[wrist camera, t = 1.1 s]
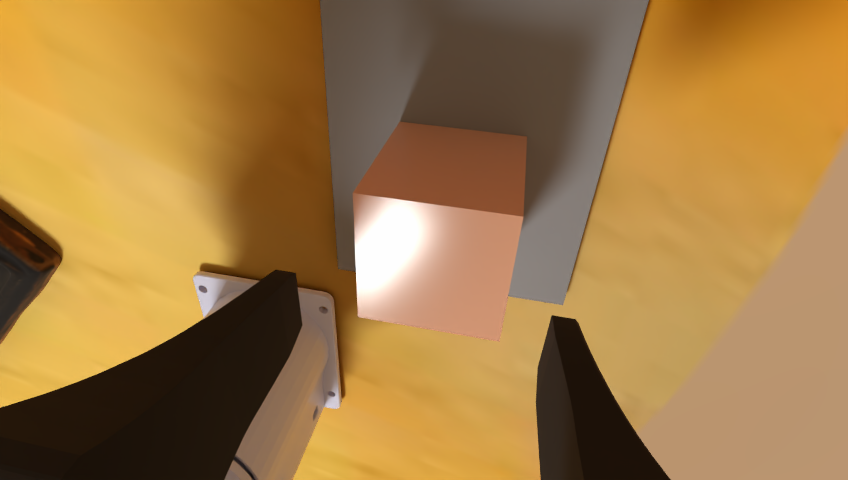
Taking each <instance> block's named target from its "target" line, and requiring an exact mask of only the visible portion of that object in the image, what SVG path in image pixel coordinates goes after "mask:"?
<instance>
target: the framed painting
mask: <svg viewBox="0 0 848 480" xmlns="http://www.w3.org/2000/svg"><path fill="white" fill-rule="evenodd" d="M60 262H61V258H60V256H59V255H58V253H57V252H56V251H54V250H53V249H52V248H51V247H50V246H49V245H47V244H46V243H45V242H43V241H42V240H41V239H40V238H38V237H37V236H36V235H34V234H33V233H32V232H30V231H29V230H28V229H26V228H25V227H24V226H22V225H21V224H20V223H18V222H17V221H16V220H14V219H13V218H12V217H10V216H9V215H8V214H6V213H5V212H4V211H2V210H1V209H0V344H1V343H2V341H3V340H4V338H5V337H6V336H7V334H8V333H9V332H10V330H11V329H12V327H13V326H14V324H15V323H16V321H17V320H18V318H19V317H20V315H21V314H22V312H23V311H24V310H25V309H26V308H27V307H28V306H29V305H30V304H31V302H32V301H33V300H34V299H35V298H36V297H37V296H38V295H39V294H40V293H41V291H42V290H43V289H44V287H45V286H46V284H47V283H48V281H49V280H50V278H51V277H52V275H53V274H54V272H55V271H56V269H57V268H58V266H59V264H60Z"/></svg>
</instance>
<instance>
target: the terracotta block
mask: <svg viewBox="0 0 848 480" xmlns="http://www.w3.org/2000/svg"><path fill="white" fill-rule="evenodd" d="M526 149H527V136H519V135H510V134H502V133H493V132H484V131H476V130H467V129H459V128H450V127H442V126H433V125H425V124H416V123H408V122H399V123H398V125H397V126H396V128H395V129H394V131H393V133H392V134H391V136H390V137H389V139H388V140H387V142H386V143H385V145H384V146H383V148H382V149H381V151H380V152H379V154H378V155H377V157H376V158H375V160H374V161H373V163H372V164H371V166H370V168H369V169H368V171H367V172H366V174H365V175H364V177H363V178H362V180H361V181H360V183H359V184H358V186H357V187H356V189H355V190H354V192H353V211H354V235H355V259H356V283H357V307H358V317H361V318H367V319H372V320H378V321H384V322H390V323H395V324H401V325H407V326H413V327H418V328H424V329H430V330H436V331H442V332H447V333H453V334H459V335H465V336H470V337H476V338H482V339H488V340H493V341H500V336H501V331H502V325H503V320H504V315H505V310H506V305H507V299H508V294H509V289H510V284H511V279H512V273H513V268H514V263H515V258H516V253H517V248H518V242H519V237H520V232H521V227H522V222H523V215H524V193H525V171H526Z"/></svg>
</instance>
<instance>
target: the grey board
mask: <svg viewBox="0 0 848 480" xmlns="http://www.w3.org/2000/svg"><path fill="white" fill-rule="evenodd" d="M648 1H649V0H320V9H321V24H322V39H323V53H324V68H325V83H326V98H327V112H328V127H329V142H330V156H331V171H332V186H333V201H334V215H335V230H336V245H337V259H338V269H342V270H348V271H355V272H356V259H355V235H354V211H353V192H354V190H355V189H356V187H357V186H358V184H359V183H360V181H361V180H362V178H363V177H364V175H365V174H366V172H367V171H368V169H369V168H370V166H371V164H372V163H373V161H374V160H375V158H376V157H377V155H378V154H379V152H380V151H381V149H382V148H383V146H384V145H385V143H386V142H387V140H388V139H389V137H390V136H391V134H392V133H393V131H394V129H395V128H396V126H397V125H398V123H399V122H408V123H416V124H425V125H433V126H442V127H450V128H459V129H467V130H476V131H484V132H493V133H502V134H510V135H519V136H527V149H526V171H525V193H524V215H523V222H522V227H521V232H520V237H519V242H518V248H517V253H516V258H515V263H514V268H513V273H512V279H511V284H510V289H509V294H508V296H510V297H516V298H523V299H529V300H535V301H541V302H547V303H554V304H560V305H563V303H564V300H565V296H566V292H567V289H568V285H569V282H570V278H571V275H572V271H573V268H574V264H575V261H576V257H577V253H578V250H579V246H580V243H581V239H582V236H583V232H584V229H585V225H586V222H587V218H588V214H589V211H590V207H591V204H592V200H593V197H594V193H595V190H596V186H597V182H598V179H599V175H600V172H601V168H602V165H603V161H604V158H605V154H606V151H607V147H608V143H609V140H610V136H611V133H612V129H613V126H614V122H615V119H616V115H617V111H618V108H619V104H620V101H621V97H622V94H623V90H624V87H625V83H626V80H627V76H628V72H629V69H630V65H631V62H632V58H633V55H634V51H635V48H636V44H637V40H638V37H639V33H640V30H641V26H642V23H643V19H644V16H645V12H646V9H647V5H648Z"/></svg>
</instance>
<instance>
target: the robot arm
mask: <svg viewBox="0 0 848 480" xmlns="http://www.w3.org/2000/svg"><path fill="white" fill-rule="evenodd" d="M193 281H194V285H195V288H196V292H197V295H198V299H199V302H200V306H201V309H202V313H203V316H204V318H203V319H202V320H201V321H200V322H198V323H196V324H195V325H193V326H192V327H190V328H188V329H187V330H185V331H184V332H182V333H180V334H179V335H177V336H175V337H173V338H171V339H170V340H168V341H166V342H164V343H162V344H160V345H159V346H157V347H155V348H153V349H151V350H149V351H147V352H145V353H143V354H141V355H139V356H137V357H135V358H132V359H130V360H128V361H126V362H124V363H121V364H119V365H117V366H115V367H113V368H110V369H108V370H106V371H104V372H101V373H99V374H97V375H94V376H92V377H89V378H87V379H84V380H81V381H79V382H76V383H74V384H71V385H68V386H65V387H63V388H60V389H57V390H55V391H52V392H49V393H46V394H43V395H40V396H37V397H33V398H30V399H27V400H24V401H21V402H18V403H14V404H11V405H8V406H5V407H2V408H0V480H293V477H294V475H295V473H296V470H297V468H298V466H299V464H300V461H301V459H302V457H303V454H304V452H305V450H306V447H307V445H308V443H309V440H310V438H311V436H312V433H313V431H314V429H315V426H316V424H317V422H318V419H319V417H320V415H321V412H322V410H323V408H324V407H328V408H333V409H336V408H339V407H340V405H341V402H342V398H341V385H340V372H339V360H338V347H337V334H336V321H335V308H334V299H333V297H332V296H331V295H330V294H329V293H327V292H323V291H317V290H311V289H305V288H299V287H297V279H296V273H292V272H286V271H280V270H275V271H273V272H272V273H270V274H269V275H267V276H266V277H264V278H263V279H262V280H260V281H258V280H252V279H246V278H240V277H234V276H228V275H222V274H216V273H210V272H204V271H199V272H197V273H196V274H195V275H194V277H193ZM322 306H323V307H326V308H327V309H325V308H323V307H322ZM536 411H537V428H538V443H539V459H540V474H541V480H670V478H669V477H668V476H667V475H666V473H665V472H664V471H663V469H662V468H661V467H660V465H659V464H658V463H657V461H656V460H655V459H654V457H653V456H652V455H651V453H650V452H649V451H648V449H647V448H646V446H645V445H644V444H643V442H642V441H641V439H640V438H639V436H638V435H637V433H636V432H635V430H634V429H633V427H632V426H631V424H630V423H629V421H628V420H627V418H626V416H625V415H624V413H623V411H622V410H621V408H620V406H619V405H618V403H617V401H616V400H615V398H614V396H613V394H612V393H611V391H610V389H609V387H608V385H607V383H606V382H605V380H604V378H603V376H602V374H601V372H600V370H599V368H598V366H597V364H596V362H595V360H594V358H593V356H592V354H591V352H590V350H589V347H588V345H587V343H586V341H585V338H584V336H583V333H582V331H581V329H580V326H579V323H578V322H577V321H576V319H571V318H565V317H558V316H552V317H551V321H550V324H549V328H548V332H547V335H546V339H545V343H544V347H543V350H542V354H541V358H540V361H539V365H538V374H537V393H536Z"/></svg>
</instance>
